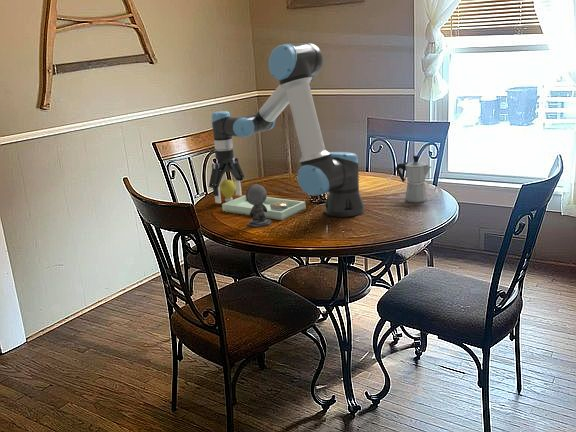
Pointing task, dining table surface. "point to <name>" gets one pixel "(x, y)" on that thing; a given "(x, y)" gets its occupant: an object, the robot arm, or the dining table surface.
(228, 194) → the light bulb
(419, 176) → the coffee maker
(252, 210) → the figurine
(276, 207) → the tin
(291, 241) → the dining table surface
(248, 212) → the pale green tray
